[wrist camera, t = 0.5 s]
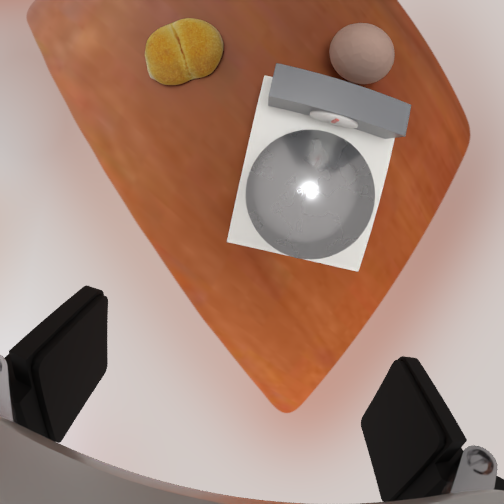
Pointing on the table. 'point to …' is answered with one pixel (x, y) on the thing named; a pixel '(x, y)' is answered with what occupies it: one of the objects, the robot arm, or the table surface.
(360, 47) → the egg
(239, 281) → the table surface
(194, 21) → the bread roll
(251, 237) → the kitchen scale
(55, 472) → the robot arm
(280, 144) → the scale pan
